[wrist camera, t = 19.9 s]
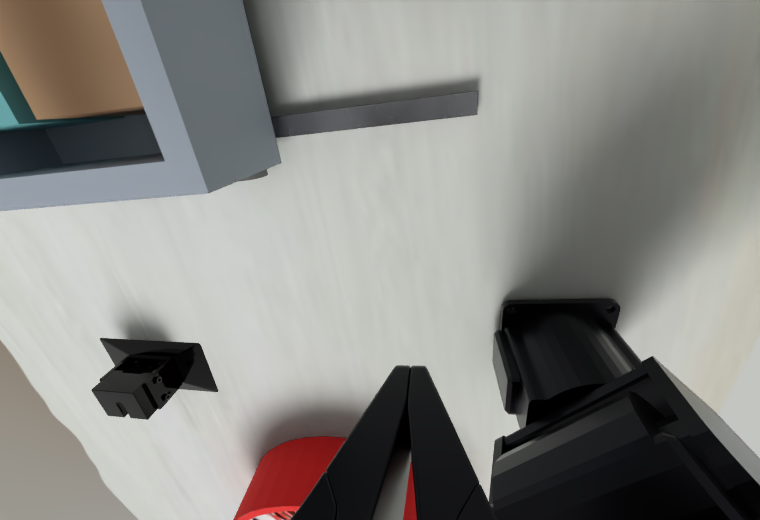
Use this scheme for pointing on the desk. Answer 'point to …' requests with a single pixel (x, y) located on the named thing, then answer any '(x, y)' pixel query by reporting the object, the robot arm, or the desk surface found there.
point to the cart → (156, 116)
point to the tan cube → (66, 59)
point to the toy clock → (296, 479)
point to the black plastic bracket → (150, 375)
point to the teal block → (28, 108)
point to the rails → (377, 114)
